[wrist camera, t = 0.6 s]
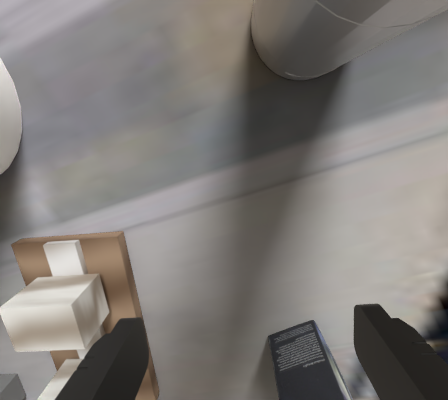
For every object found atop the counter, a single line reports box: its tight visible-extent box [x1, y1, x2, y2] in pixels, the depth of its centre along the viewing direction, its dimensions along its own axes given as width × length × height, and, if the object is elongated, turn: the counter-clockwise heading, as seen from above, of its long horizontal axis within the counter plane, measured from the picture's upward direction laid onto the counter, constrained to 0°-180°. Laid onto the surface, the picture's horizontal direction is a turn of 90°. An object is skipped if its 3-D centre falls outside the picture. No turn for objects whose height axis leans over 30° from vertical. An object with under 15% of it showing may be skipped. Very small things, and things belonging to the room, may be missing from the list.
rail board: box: [0, 231, 159, 400], centre depth 29 cm, size 24×12×7 cm, turn 6°
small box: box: [268, 320, 353, 400], centre depth 28 cm, size 11×6×10 cm, turn 27°
